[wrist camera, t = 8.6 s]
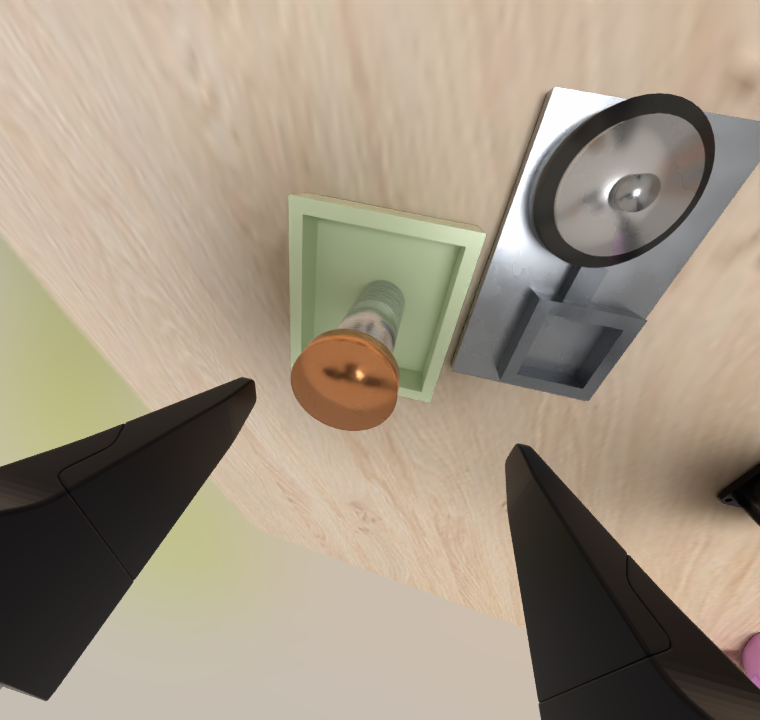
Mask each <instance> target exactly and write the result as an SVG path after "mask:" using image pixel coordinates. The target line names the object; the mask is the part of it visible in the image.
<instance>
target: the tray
mask: <svg viewBox="0 0 760 720" xmlns="http://www.w3.org/2000/svg"><path fill="white" fill-rule="evenodd" d="M288 212H289V284H290V357H291V371H292V367H293V365H294V363H295V361H296V360H297V358H298V357H299V356H300V354H301V353H302V352H303V351H304V349H305V348H306V347H307V346H308V344H309V343H310V342H311V341H312V340H313V339H314V338H315V337H317V336H318V335H320V334H322V333H324V332H327V331H329V330H334V329H337V327H338V326H339V324H340V323H341V322H342V320H343V319H344V317H345V316H346V314H347V313H348V311H349V310H350V308H351V307H352V305H353V304H354V302H355V301H356V300H357V298H358V297H359V295H360V294H361V292H362V291H363V289H364V288H365V287H366V286H367V285H368V284H370V283H371V282H374V281H378V280H385V281H389V282H391V283H393V284H395V285H396V286H397V287H398V288H399V289H400V290H401V292H402V293H403V296H404V299H405V307H404V311H403V315H402V319H401V323H400V327H399V331H398V335H397V339H396V344H395V348H394V352H393V356H394V357H395V359H396V361H397V364H398V367H399V371H400V384H399V390H398V395H397V396H401V397H406V398H410V399H414V400H419V401H423V402H427V403H430V401H431V398H432V395H433V392H434V389H435V386H436V383H437V380H438V377H439V374H440V371H441V368H442V365H443V362H444V359H445V356H446V353H447V350H448V347H449V344H450V341H451V338H452V335H453V332H454V329H455V326H456V323H457V320H458V317H459V314H460V311H461V308H462V305H463V303H464V300H465V297H466V294H467V291H468V288H469V285H470V282H471V279H472V276H473V273H474V270H475V267H476V264H477V261H478V258H479V255H480V252H481V249H482V246H483V243H484V240H485V237H486V233H485V232H484V231H483V230H482V229H481V228H480V227H479V226H475V225H470V224H465V223H459V222H454V221H449V220H444V219H439V218H434V217H429V216H424V215H419V214H414V213H408V212H403V211H398V210H393V209H388V208H383V207H378V206H373V205H368V204H363V203H357V202H352V201H347V200H342V199H337V198H332V197H327V196H322V195H317V194H312V193H305V194H291V195H288Z"/></svg>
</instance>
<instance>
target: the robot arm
mask: <svg viewBox="0 0 760 720" xmlns="http://www.w3.org/2000/svg"><path fill="white" fill-rule="evenodd" d="M255 403H256V388H255V382H254V380H252V379H248V378H244V377H241V378H238V379H236V380H233V381H231V382H228V383H225V384H223V385H220V386H218V387H215V388H213V389H210V390H208V391H205V392H203V393H200V394H197V395H195V396H192V397H190V398H187V399H185V400H182V401H180V402H177V403H175V404H172V405H169V406H167V407H164V408H162V409H159V410H157V411H154V412H152V413H149V414H147V415H144V416H141V417H139V418H136V419H134V420H131V421H129V422H126V424H121V425H118V426H116V427H113V428H111V429H108V430H105V431H103V432H100V433H97V434H95V435H92V436H89V437H87V438H84V439H81V440H78V441H75V442H73V443H70V444H67V445H64V446H61V447H58V448H55V449H52V450H50V451H46V452H43V453H40V454H37V455H34V456H31V457H28V458H25V459H22V460H19V461H16V462H13V463H10V464H7V465H4V466H1V467H0V689H1V688H2V687H6V688H9V689H12V690H15V691H18V692H20V693H23V694H26V695H29V696H32V697H35V698H38V699H41V700H44V701H47V700H48V699H49V698H50V697H51V696H52V694H53V693H54V692H55V691H56V689H57V688H58V687H59V685H60V684H61V683H62V681H63V679H64V678H65V677H66V676H67V674H68V673H69V671H70V670H71V669H72V667H73V666H74V664H75V663H76V661H77V660H78V659H79V657H80V656H81V655H82V653H83V652H84V650H85V649H86V648H87V646H88V645H89V643H90V642H91V641H92V639H93V638H94V636H95V635H96V634H97V632H98V631H99V629H100V628H101V627H102V625H103V624H104V622H105V621H106V620H107V618H108V617H109V616H110V614H111V613H112V611H113V610H114V608H115V607H116V606H117V604H118V603H119V601H120V600H121V599H122V597H123V596H124V594H125V593H126V592H127V590H128V589H129V588H130V586H131V585H132V583H133V580H134V579H136V577H137V576H138V575H139V573H140V572H141V570H142V569H143V568H144V566H145V565H146V563H147V562H148V560H149V559H150V558H151V556H152V555H153V554H154V552H155V551H156V550H157V548H158V547H159V545H160V544H161V542H162V541H163V540H164V538H165V537H166V536H167V534H168V533H169V531H170V530H171V529H172V527H173V526H174V524H175V523H176V522H177V520H178V519H179V517H180V516H181V515H182V513H183V512H184V510H185V509H186V507H187V506H188V505H189V503H190V502H191V501H192V499H193V498H194V496H195V495H196V494H197V492H198V491H199V489H200V488H201V487H202V485H203V484H204V483H205V481H206V480H207V478H208V477H209V476H210V474H211V473H212V471H213V470H214V469H215V467H216V466H217V464H218V463H219V462H220V460H221V459H222V457H223V456H224V455H225V453H226V452H227V450H228V449H229V448H230V446H231V445H232V443H233V442H234V440H235V439H236V437H237V435H238V433H239V432H240V430H241V428H242V426H243V425H244V423H245V421H246V419H247V417H248V416H249V414H250V412H251V410H252V409H253V407H254V405H255ZM505 474H506V494H507V511H508V518H509V525H510V531H511V537H512V543H513V549H514V555H515V561H516V567H517V574H518V580H519V586H520V592H521V598H522V604H523V610H524V616H525V623H526V629H527V635H528V641H529V647H530V653H531V658H532V665H533V672H534V678H535V684H536V690H537V696H538V701H539V702H540V703H539V710H540V716H541V720H760V689H759V688H758V687H757V686H756V685H755V684H754V683H753V682H752V681H751V680H750V679H749V678H748V677H747V676H746V675H745V674H744V673H743V672H742V671H741V670H740V669H739V668H738V667H737V666H736V665H735V664H734V663H733V662H732V661H731V660H730V659H729V658H728V657H727V656H726V655H725V654H724V653H723V652H722V651H721V650H720V649H719V648H718V647H717V646H716V645H715V644H714V643H713V642H712V641H711V640H710V639H709V638H708V637H707V636H706V635H705V634H704V633H703V632H702V631H701V630H700V629H699V628H698V627H697V626H696V625H695V624H694V623H693V622H692V621H691V620H690V619H689V618H688V617H687V616H686V615H685V614H684V613H683V612H682V611H681V610H680V609H679V608H678V607H677V606H676V605H675V603H674V602H673V601H672V600H671V599H670V598H669V597H668V596H667V595H666V594H665V593H664V592H663V591H662V590H661V589H660V588H659V587H658V586H657V585H656V584H655V583H654V582H653V580H652V579H651V578H650V577H649V576H648V575H647V574H646V573H645V572H644V571H643V570H642V569H641V567H640V566H639V565H638V564H637V563H636V562H635V561H634V560H633V559H632V558H631V556H629V555H627V552H626V551H625V550H624V549H623V548H622V547H621V546H620V544H619V543H618V542H617V541H616V540H615V539H614V538H613V537H612V536H611V535H610V533H609V532H608V531H607V530H606V529H605V528H604V527H603V526H602V525H601V524H600V522H599V521H598V520H597V519H596V518H595V517H594V516H593V515H592V514H591V512H590V511H589V510H588V509H587V508H586V507H585V506H584V505H583V504H582V503H581V501H580V500H579V499H578V498H577V497H576V496H575V495H574V494H573V493H572V492H571V490H570V489H569V488H568V487H567V486H566V485H565V484H564V483H563V482H562V480H561V479H560V478H559V477H558V476H557V475H556V474H555V473H554V472H553V471H552V469H551V468H550V467H549V466H548V465H547V464H546V463H545V462H544V461H543V460H542V458H541V457H540V456H539V455H538V454H537V453H536V452H535V451H534V450H533V449H532V448H531V447H530V446H527V445H523V444H516V445H515V446H514V447H513V449H512V451H511V452H510V454H509V456H508V457H507V459H506V463H505ZM717 498H718V499H719V500H720V501H721V502H722V503H724V504H728V505H732V506H737V507H741V508H743V509H744V510H745V511H746V513H747V514H748V515H749V516H750V517H751V518H752V519H753V520H754V521H755V522H756V523H757V524H758V525H759V526H760V465H759V466H757V467H756V468H754V469H753V470H752V471H750V472H749V473H748V474H746V475H745V476H743V477H742V478H741V479H739V480H738V481H736V482H735V483H734V484H732V485H731V486H730V487H728V488H727V489H725V490H724V491H723V492H721V493H720V494H719V495H718V496H717Z"/></svg>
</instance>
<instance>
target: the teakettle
mask: <svg viewBox="0 0 760 720" xmlns="http://www.w3.org/2000/svg"><path fill="white" fill-rule="evenodd" d="M742 662H743V666H744V669H745V672H746V675H747V677H748V678H749V679H750V680H751V681H752V682H753V683H754V684H755V685H756V686H757V687H758V688H759V689H760V633H757V634H755V635H754V636H753V637H752V638H751V639H750V640H749V642H748V643H747V645H746V646H745V648H744V650H743V654H742Z"/></svg>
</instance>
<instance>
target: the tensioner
mask: <svg viewBox="0 0 760 720" xmlns="http://www.w3.org/2000/svg"><path fill="white" fill-rule="evenodd" d="M759 162H760V121H755V120H749V119H743V118H737V117H731V116H726V115H720V114H714V113H708V112H703V111H702V110H701V109H700V108H699V107H698V106H696V105H695V104H694V103H693V102H691V101H689V100H687V99H685V98H683V97H679V96H676V95H672V94H660V93H658V94H646V95H642V96H637V97H633V98H630V99H624V98H618V97H612V96H606V95H600V94H594V93H588V92H582V91H576V90H570V89H564V88H558V87H554V88H553V89H551V90H550V91H549V92H548V93H547V95H546V98H545V101H544V104H543V107H542V109H541V112H540V115H539V118H538V121H537V124H536V126H535V129H534V132H533V135H532V138H531V140H530V143H529V146H528V149H527V152H526V155H525V157H524V160H523V163H522V166H521V169H520V171H519V174H518V177H517V180H516V183H515V186H514V188H513V191H512V194H511V197H510V200H509V202H508V205H507V208H506V211H505V214H504V217H503V219H502V222H501V225H500V228H499V231H498V233H497V236H496V239H495V242H494V245H493V248H492V250H491V253H490V256H489V259H488V262H487V264H486V267H485V270H484V273H483V276H482V279H481V281H480V284H479V287H478V290H477V293H476V295H475V298H474V301H473V304H472V307H471V310H470V312H469V315H468V318H467V321H466V324H465V326H464V329H463V332H462V335H461V338H460V341H459V343H458V346H457V349H456V352H455V355H454V357H453V360H452V363H451V368H452V371H454V372H458V373H463V374H467V375H472V376H476V377H481V378H485V379H490V380H494V381H498V382H503V383H507V384H512V385H516V386H521V387H525V388H530V389H534V390H539V391H543V392H548V393H552V394H556V395H561V396H565V397H570V398H574V399H579V400H583V401H586V400H587V401H589V400H590V398H591V397H592V396H593V394H594V393H595V391H596V390H597V389H598V387H599V386H600V385H601V383H602V382H603V381H604V379H605V378H606V376H607V375H608V374H609V372H610V371H611V370H612V368H613V367H614V365H615V364H616V363H617V361H618V360H619V359H620V357H621V356H622V355H623V353H624V352H625V350H626V349H627V348H628V346H629V345H630V344H631V342H632V341H633V340H634V338H635V337H636V335H637V334H638V333H639V331H640V330H641V329H642V327H643V326H644V325H645V323H646V322H647V320H645V319H646V317H647V316H648V315H649V313H650V312H651V311H652V309H653V308H654V306H655V305H656V304H657V302H658V301H659V299H660V298H661V297H662V295H663V294H664V293H665V291H666V290H667V288H668V287H669V286H670V284H671V283H672V282H673V280H674V279H675V277H676V276H677V275H678V273H679V272H680V271H681V269H682V268H683V266H684V265H685V264H686V262H687V261H688V260H689V258H690V257H691V255H692V254H693V253H694V251H695V250H696V249H697V247H698V246H699V244H700V243H701V242H702V240H703V239H704V237H705V236H706V235H707V233H708V232H709V231H710V229H711V228H712V226H713V225H714V224H715V222H716V221H717V220H718V218H719V217H720V215H721V214H722V213H723V211H724V210H725V209H726V207H727V206H728V204H729V203H730V202H731V200H732V199H733V198H734V196H735V195H736V193H737V192H738V191H739V189H740V188H741V186H742V185H743V184H744V182H745V181H746V180H747V178H748V177H749V175H750V174H751V173H752V171H753V170H754V169H755V167H756V166H757V164H758V163H759Z"/></svg>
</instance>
